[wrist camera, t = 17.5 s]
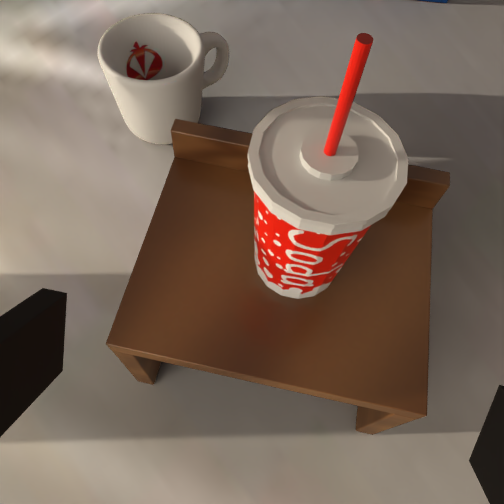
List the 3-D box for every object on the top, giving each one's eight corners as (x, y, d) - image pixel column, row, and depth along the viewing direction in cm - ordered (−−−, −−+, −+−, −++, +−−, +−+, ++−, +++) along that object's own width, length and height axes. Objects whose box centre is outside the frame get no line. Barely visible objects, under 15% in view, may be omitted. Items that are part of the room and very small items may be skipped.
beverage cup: (222, 285, 24) (219, 74, 12) (265, 198, 27) (299, -49, 14) (331, 330, 23) (451, 153, 11) (364, 236, 26) (490, 7, 14)
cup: (204, 67, 44) (199, -12, 37) (250, 119, 42) (255, 43, 35) (103, 112, 41) (78, 33, 34) (146, 171, 38) (129, 99, 31)
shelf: (137, 381, 30) (92, 328, 20) (189, 220, 36) (174, 117, 26) (373, 435, 30) (449, 408, 19) (386, 261, 36) (450, 171, 25)
